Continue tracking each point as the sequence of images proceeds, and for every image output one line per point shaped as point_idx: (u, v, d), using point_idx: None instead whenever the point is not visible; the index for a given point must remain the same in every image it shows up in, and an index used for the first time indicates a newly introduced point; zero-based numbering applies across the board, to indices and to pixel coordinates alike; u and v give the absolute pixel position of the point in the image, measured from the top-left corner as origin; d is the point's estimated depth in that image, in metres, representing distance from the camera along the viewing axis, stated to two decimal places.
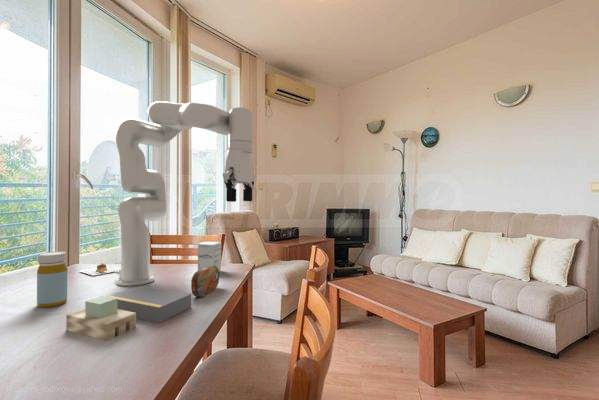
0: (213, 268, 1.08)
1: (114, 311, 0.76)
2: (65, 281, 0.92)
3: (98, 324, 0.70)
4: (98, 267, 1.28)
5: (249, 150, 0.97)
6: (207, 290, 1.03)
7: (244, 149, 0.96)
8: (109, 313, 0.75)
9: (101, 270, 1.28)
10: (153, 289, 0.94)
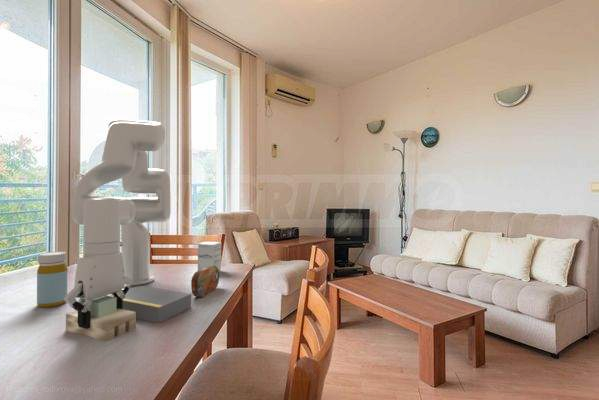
0: (213, 268, 1.08)
1: (113, 310, 0.76)
2: (65, 281, 0.92)
3: (98, 323, 0.70)
4: None
5: (110, 254, 0.73)
6: (207, 290, 1.03)
7: (100, 255, 0.72)
8: (108, 312, 0.75)
9: None
10: (153, 289, 0.94)
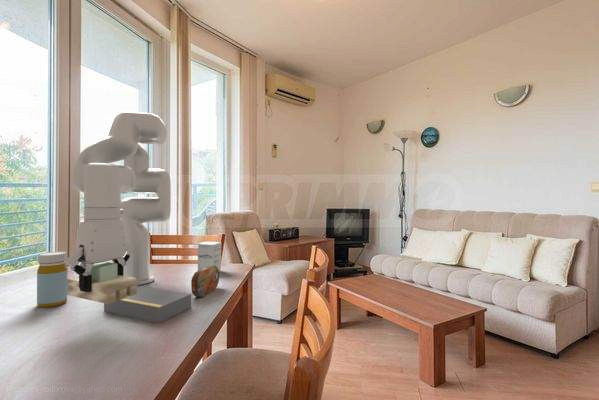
0: (213, 268, 1.08)
1: (114, 276, 0.76)
2: (65, 281, 0.92)
3: (99, 287, 0.71)
4: None
5: (110, 219, 0.73)
6: (207, 290, 1.03)
7: (100, 219, 0.72)
8: (109, 277, 0.75)
9: None
10: (153, 289, 0.94)
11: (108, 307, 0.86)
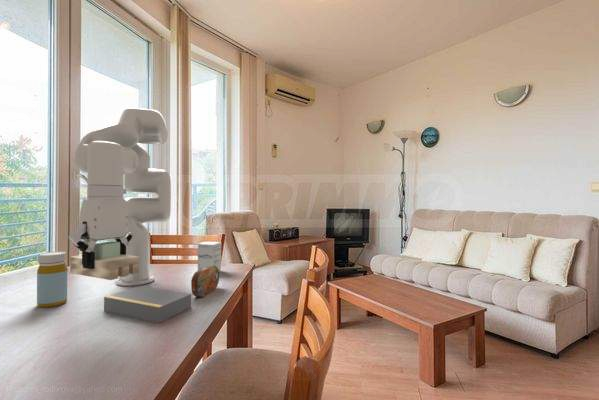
0: (213, 268, 1.08)
1: (117, 254, 0.77)
2: (65, 281, 0.92)
3: (102, 263, 0.71)
4: None
5: (113, 197, 0.74)
6: (207, 290, 1.03)
7: (103, 197, 0.72)
8: (112, 255, 0.75)
9: None
10: (153, 289, 0.94)
11: (108, 307, 0.86)
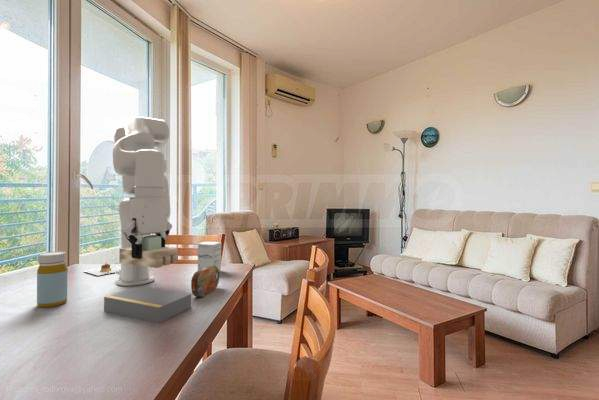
0: (213, 268, 1.08)
1: (159, 247, 0.89)
2: (65, 281, 0.92)
3: (149, 253, 0.83)
4: (102, 267, 1.28)
5: (157, 197, 0.86)
6: (207, 290, 1.03)
7: (149, 197, 0.85)
8: (155, 247, 0.88)
9: (105, 270, 1.28)
10: (153, 289, 0.94)
11: (108, 307, 0.86)
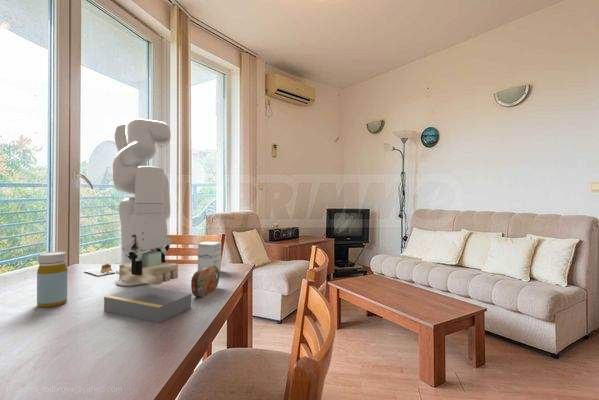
0: (213, 268, 1.08)
1: (159, 262, 0.89)
2: (65, 281, 0.92)
3: (149, 270, 0.83)
4: (103, 267, 1.28)
5: (157, 213, 0.86)
6: (207, 290, 1.03)
7: (149, 213, 0.85)
8: (155, 263, 0.88)
9: (106, 270, 1.28)
10: (153, 289, 0.94)
11: (108, 307, 0.86)
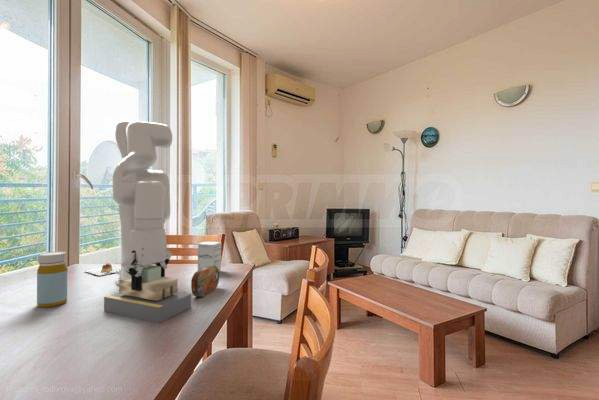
0: (213, 268, 1.08)
1: (158, 277, 0.89)
2: (65, 281, 0.92)
3: (148, 286, 0.83)
4: (103, 267, 1.28)
5: (157, 229, 0.86)
6: (207, 290, 1.03)
7: (149, 229, 0.85)
8: (155, 278, 0.88)
9: (106, 270, 1.28)
10: None
11: (108, 307, 0.86)
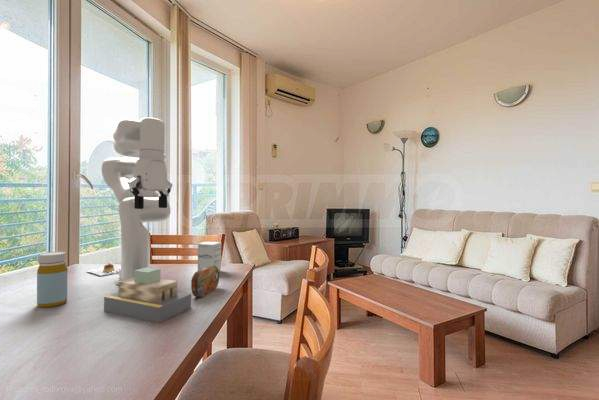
0: (213, 268, 1.08)
1: (158, 279, 0.89)
2: (65, 281, 0.92)
3: (148, 288, 0.83)
4: (105, 267, 1.28)
5: (158, 159, 1.00)
6: (207, 290, 1.03)
7: (152, 158, 0.99)
8: (154, 280, 0.88)
9: (108, 270, 1.28)
10: None
11: (108, 307, 0.86)
